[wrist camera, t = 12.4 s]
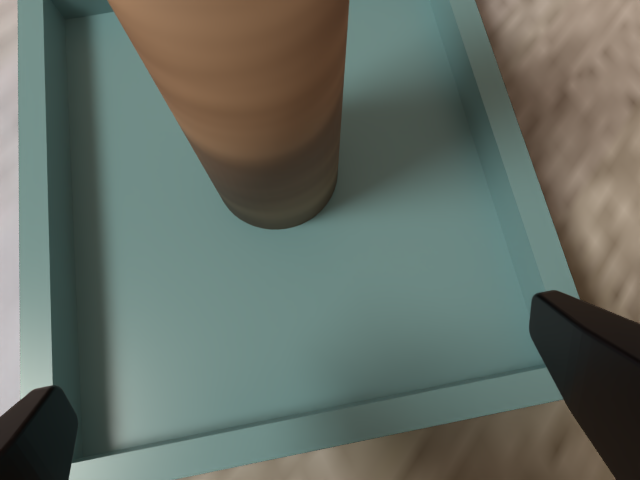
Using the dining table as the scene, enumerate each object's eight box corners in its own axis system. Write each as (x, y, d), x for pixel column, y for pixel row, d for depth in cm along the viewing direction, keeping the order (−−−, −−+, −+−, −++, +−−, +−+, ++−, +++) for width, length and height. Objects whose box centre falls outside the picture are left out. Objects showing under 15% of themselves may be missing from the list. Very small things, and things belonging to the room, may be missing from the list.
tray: (570, 387, 17) (611, 389, 14) (66, 490, 16) (21, 510, 13) (429, -42, 22) (442, -93, 20) (51, 18, 21) (17, -27, 19)
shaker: (351, 219, 18) (440, -277, 4) (222, 243, 17) (-117, -199, 4) (327, 106, 19) (334, -534, 6) (206, 127, 19) (-84, -488, 5)
